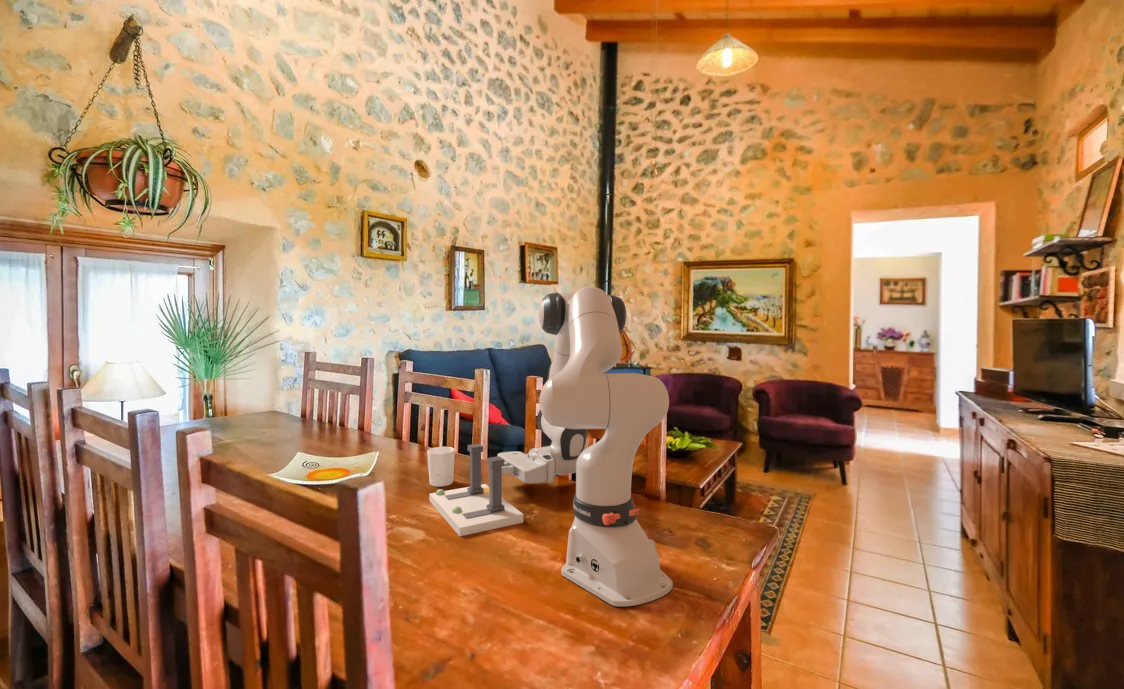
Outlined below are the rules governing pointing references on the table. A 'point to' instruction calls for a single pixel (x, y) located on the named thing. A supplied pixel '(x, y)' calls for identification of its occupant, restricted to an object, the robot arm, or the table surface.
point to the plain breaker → (495, 483)
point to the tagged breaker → (475, 468)
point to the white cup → (441, 466)
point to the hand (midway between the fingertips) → (494, 470)
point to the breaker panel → (472, 511)
